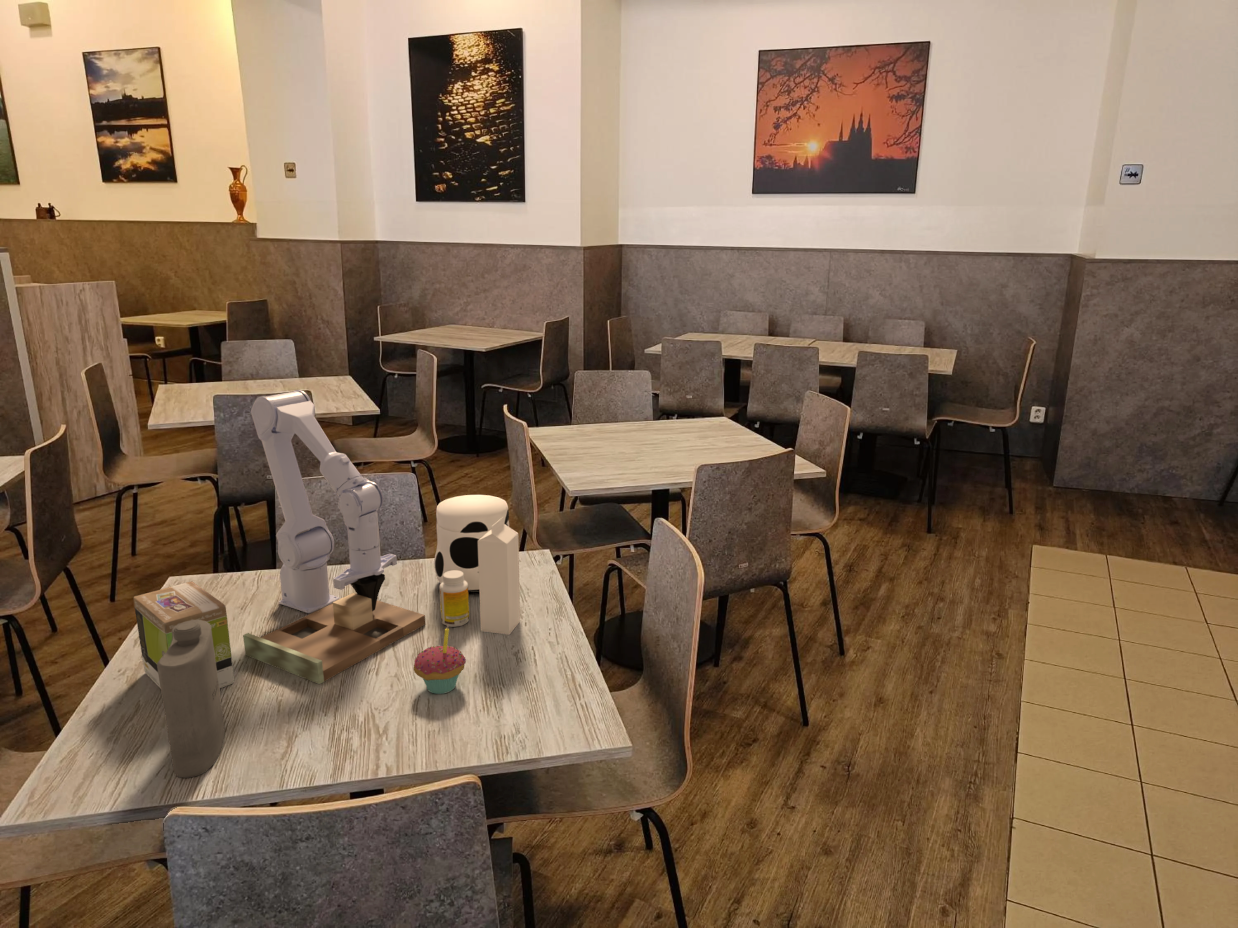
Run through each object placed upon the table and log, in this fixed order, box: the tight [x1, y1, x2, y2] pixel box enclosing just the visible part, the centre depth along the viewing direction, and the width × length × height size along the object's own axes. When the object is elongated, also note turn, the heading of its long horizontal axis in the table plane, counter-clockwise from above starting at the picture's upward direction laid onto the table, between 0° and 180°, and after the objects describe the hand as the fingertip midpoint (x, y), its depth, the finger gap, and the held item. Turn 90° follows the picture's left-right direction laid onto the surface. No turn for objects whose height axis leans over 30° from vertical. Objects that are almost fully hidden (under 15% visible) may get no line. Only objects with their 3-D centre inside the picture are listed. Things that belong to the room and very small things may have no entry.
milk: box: [478, 517, 521, 636], centre depth 157 cm, size 6×6×22 cm
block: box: [332, 592, 373, 630], centre depth 156 cm, size 5×5×4 cm
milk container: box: [433, 494, 510, 593], centre depth 177 cm, size 17×17×18 cm
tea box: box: [133, 581, 235, 689], centre depth 138 cm, size 15×10×15 cm
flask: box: [157, 620, 226, 779], centre depth 118 cm, size 15×6×20 cm, turn 18°
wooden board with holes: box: [242, 592, 426, 685], centre depth 153 cm, size 20×26×4 cm
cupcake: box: [413, 625, 467, 695], centre depth 136 cm, size 9×8×12 cm
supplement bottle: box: [438, 570, 470, 628], centre depth 160 cm, size 6×6×10 cm
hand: (369, 609), depth 160 cm, fingers closed
